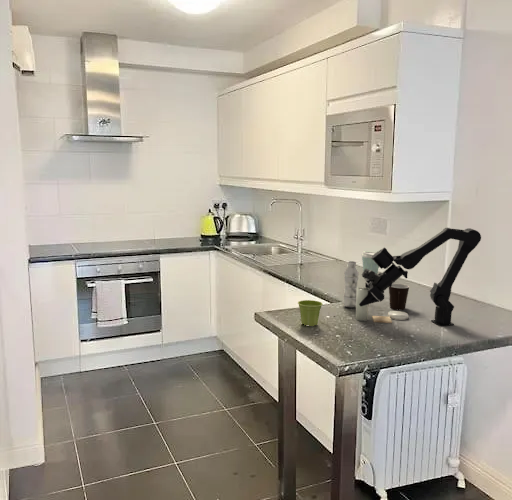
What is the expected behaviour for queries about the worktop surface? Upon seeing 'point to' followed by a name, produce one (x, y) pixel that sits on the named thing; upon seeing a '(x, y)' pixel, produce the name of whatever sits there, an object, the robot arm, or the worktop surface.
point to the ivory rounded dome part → (398, 315)
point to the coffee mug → (398, 296)
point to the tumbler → (361, 310)
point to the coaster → (382, 319)
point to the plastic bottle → (350, 285)
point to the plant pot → (309, 312)
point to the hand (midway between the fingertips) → (358, 302)
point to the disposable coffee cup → (369, 261)
